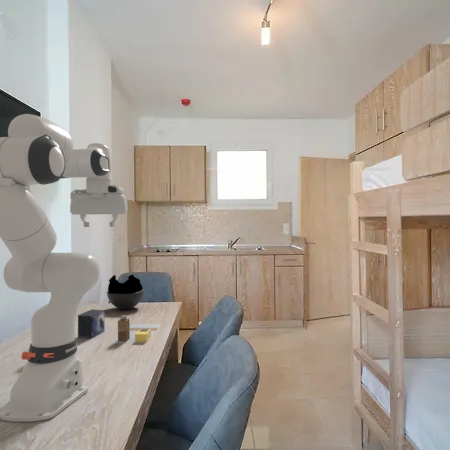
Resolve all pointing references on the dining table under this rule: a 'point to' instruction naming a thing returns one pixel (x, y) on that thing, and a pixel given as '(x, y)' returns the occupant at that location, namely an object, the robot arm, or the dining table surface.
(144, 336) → the block
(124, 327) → the wooden block with knob
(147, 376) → the dining table surface
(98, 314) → the small box
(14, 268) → the robot arm
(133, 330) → the board
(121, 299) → the coal bowl
